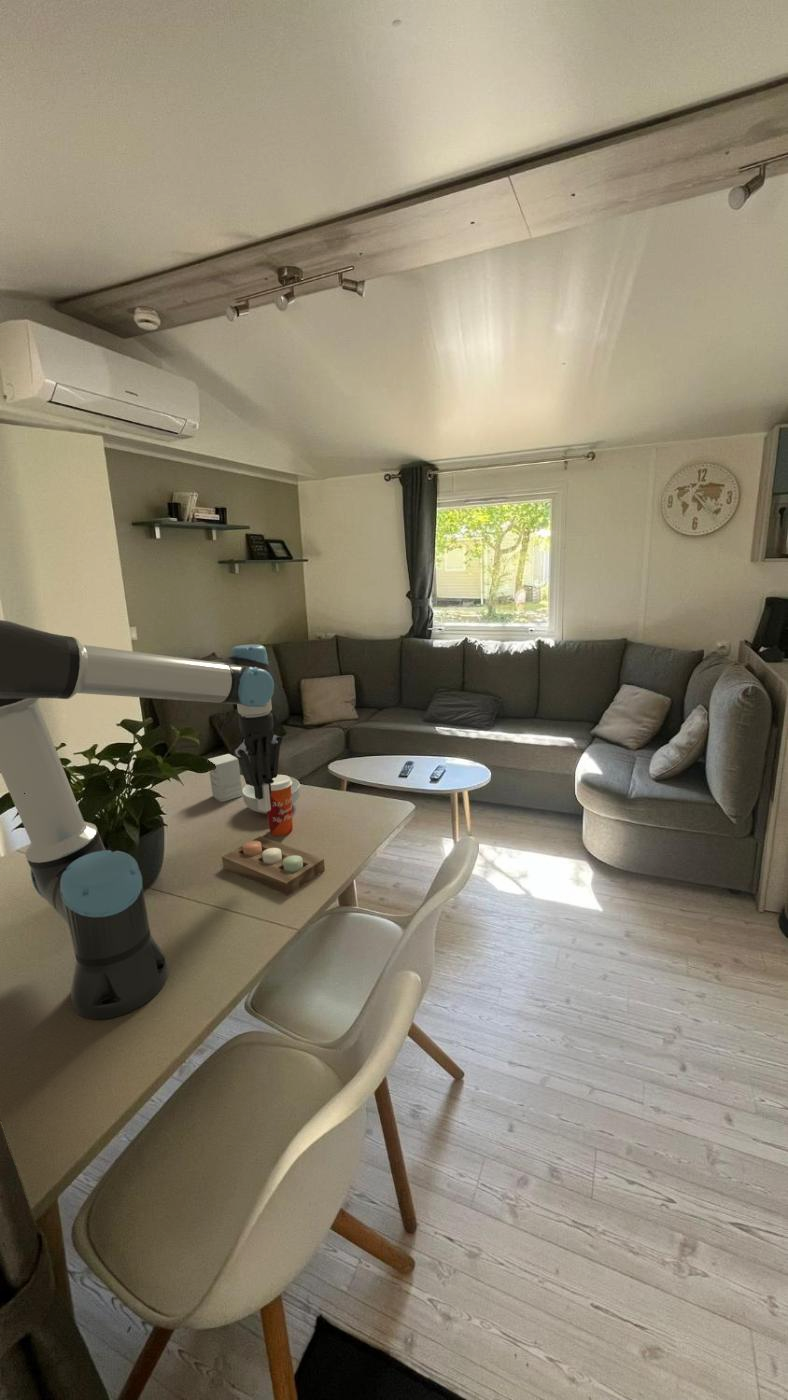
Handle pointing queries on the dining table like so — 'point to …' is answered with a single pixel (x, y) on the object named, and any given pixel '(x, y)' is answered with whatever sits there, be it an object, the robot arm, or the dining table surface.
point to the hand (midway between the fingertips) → (264, 809)
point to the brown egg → (252, 848)
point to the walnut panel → (274, 867)
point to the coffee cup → (280, 806)
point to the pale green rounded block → (293, 863)
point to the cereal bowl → (253, 801)
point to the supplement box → (225, 778)
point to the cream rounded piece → (272, 856)
